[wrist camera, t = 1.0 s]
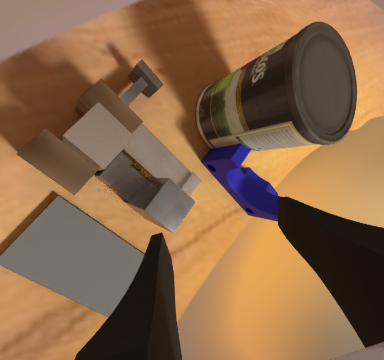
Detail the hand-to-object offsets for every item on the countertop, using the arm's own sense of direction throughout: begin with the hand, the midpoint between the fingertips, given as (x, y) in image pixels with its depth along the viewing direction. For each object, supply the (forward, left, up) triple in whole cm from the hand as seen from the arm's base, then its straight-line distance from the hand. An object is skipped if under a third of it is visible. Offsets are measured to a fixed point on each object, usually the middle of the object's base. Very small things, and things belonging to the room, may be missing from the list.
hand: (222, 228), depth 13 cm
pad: (-8, +1, -14) cm, 16 cm away
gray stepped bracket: (0, +2, -14) cm, 14 cm away
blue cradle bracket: (+11, -9, -14) cm, 20 cm away
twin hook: (+3, +4, -14) cm, 15 cm away
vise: (+3, +9, -14) cm, 17 cm away
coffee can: (+16, -2, -14) cm, 22 cm away
